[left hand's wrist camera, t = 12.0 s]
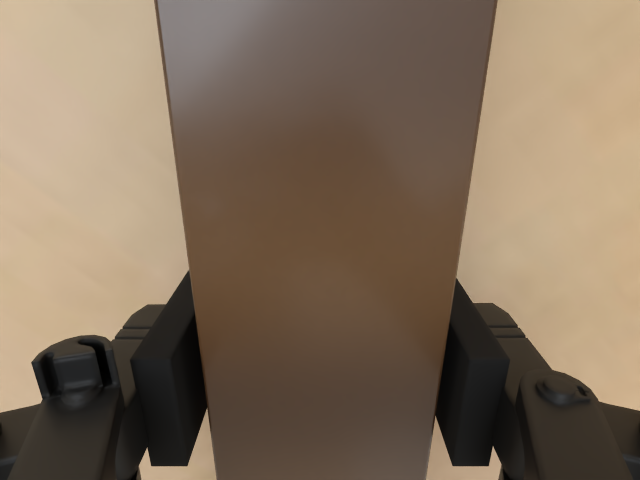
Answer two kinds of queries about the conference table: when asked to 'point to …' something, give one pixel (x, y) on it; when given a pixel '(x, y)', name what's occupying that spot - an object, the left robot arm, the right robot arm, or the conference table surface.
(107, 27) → the conference table surface
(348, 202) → the beam
